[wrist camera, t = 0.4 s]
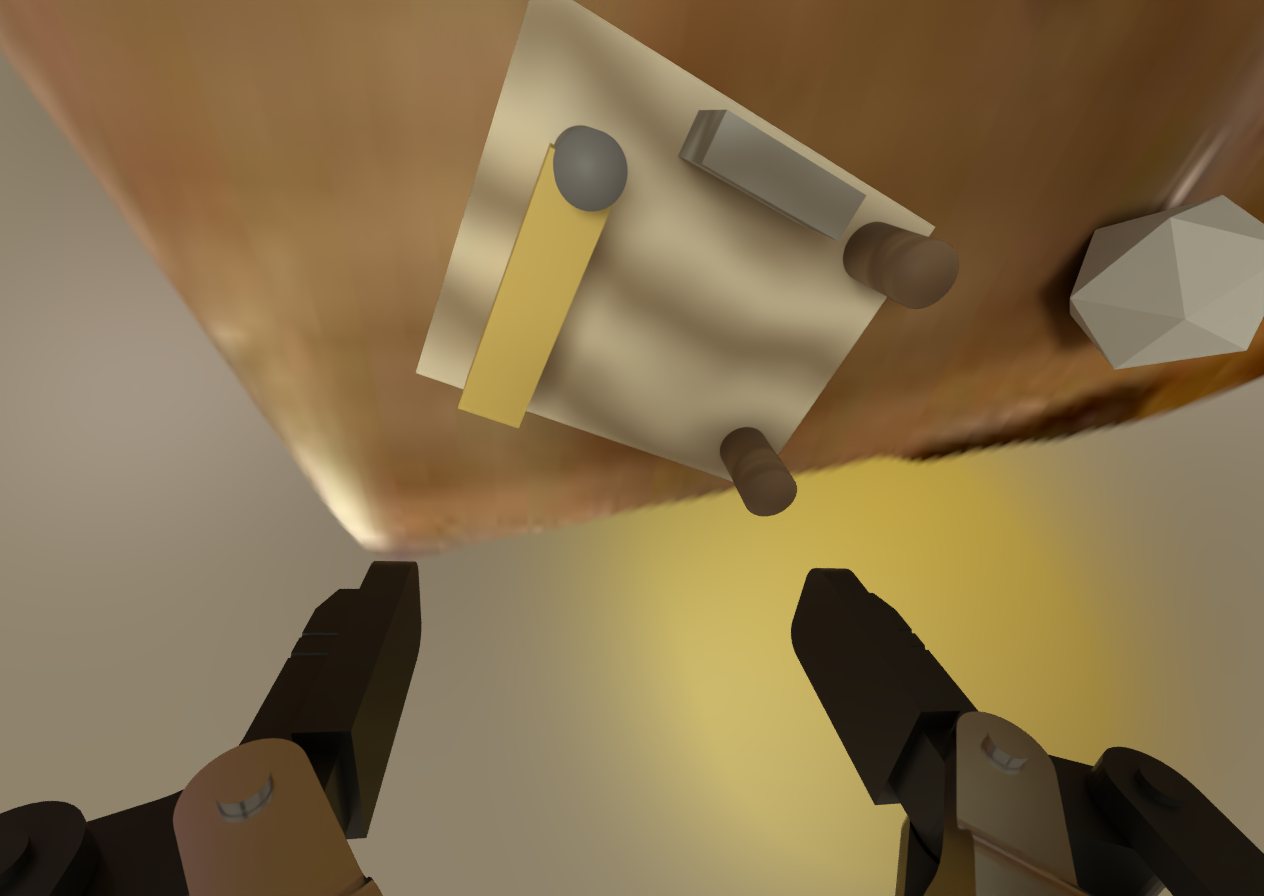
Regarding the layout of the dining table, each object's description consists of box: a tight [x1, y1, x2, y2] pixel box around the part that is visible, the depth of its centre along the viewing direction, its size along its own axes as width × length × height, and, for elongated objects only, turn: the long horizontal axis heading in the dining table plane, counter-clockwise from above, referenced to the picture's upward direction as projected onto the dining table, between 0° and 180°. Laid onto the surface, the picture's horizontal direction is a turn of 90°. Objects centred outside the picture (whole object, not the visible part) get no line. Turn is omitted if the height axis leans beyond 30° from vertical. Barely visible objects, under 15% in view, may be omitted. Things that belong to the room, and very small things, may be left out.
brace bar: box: [458, 125, 628, 428], centre depth 24 cm, size 13×3×6 cm, turn 154°
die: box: [1070, 195, 1264, 369], centre depth 29 cm, size 8×9×10 cm
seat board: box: [416, 0, 959, 516], centre depth 27 cm, size 18×22×6 cm
